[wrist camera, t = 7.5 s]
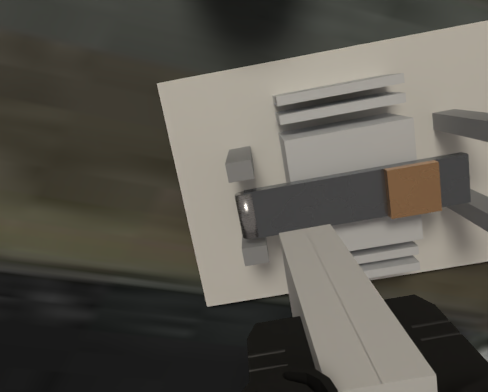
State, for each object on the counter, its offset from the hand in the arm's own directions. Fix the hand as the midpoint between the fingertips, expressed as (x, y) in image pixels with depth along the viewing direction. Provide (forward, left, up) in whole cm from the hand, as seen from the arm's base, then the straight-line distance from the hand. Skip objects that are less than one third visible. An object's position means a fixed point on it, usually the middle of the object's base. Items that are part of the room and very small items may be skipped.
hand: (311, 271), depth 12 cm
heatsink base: (+5, -2, -21) cm, 22 cm away
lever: (+4, -2, -14) cm, 15 cm away
